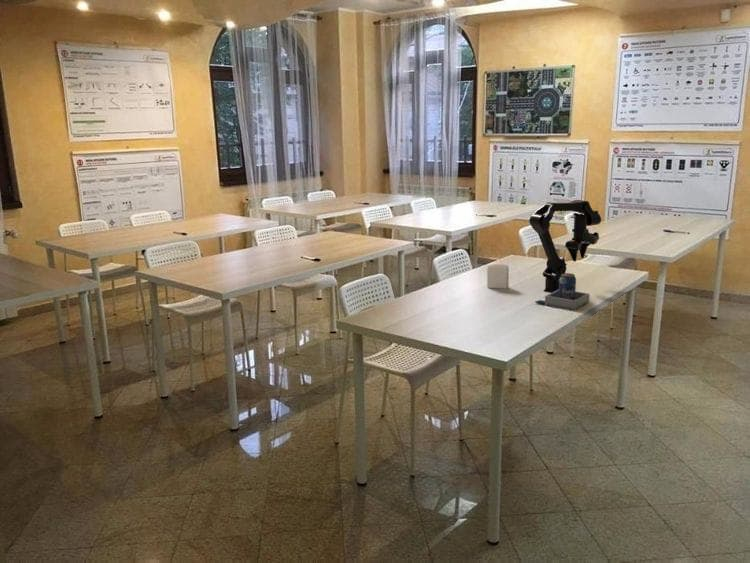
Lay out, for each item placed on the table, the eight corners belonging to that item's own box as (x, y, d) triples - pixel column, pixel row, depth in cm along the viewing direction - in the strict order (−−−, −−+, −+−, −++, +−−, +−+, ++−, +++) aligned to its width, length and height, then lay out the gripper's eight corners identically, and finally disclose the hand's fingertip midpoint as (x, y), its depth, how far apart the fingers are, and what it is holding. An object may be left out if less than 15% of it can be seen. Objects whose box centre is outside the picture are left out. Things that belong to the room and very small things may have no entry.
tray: (544, 305, 276) (545, 296, 275) (558, 297, 286) (559, 289, 285) (575, 310, 267) (576, 301, 266) (589, 302, 277) (589, 293, 276)
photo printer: (486, 288, 305) (486, 263, 302) (487, 286, 309) (488, 261, 306) (507, 289, 302) (508, 264, 299) (509, 287, 306) (509, 262, 303)
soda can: (563, 304, 272) (564, 277, 269) (555, 300, 279) (556, 273, 276) (577, 302, 274) (579, 276, 271) (570, 298, 280) (571, 272, 277)
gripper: (589, 231, 284) (587, 265, 288) (604, 225, 298) (602, 257, 302) (565, 229, 291) (564, 262, 295) (581, 223, 305) (580, 255, 309)
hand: (578, 259), depth 300 cm, fingers open, 9 cm apart
